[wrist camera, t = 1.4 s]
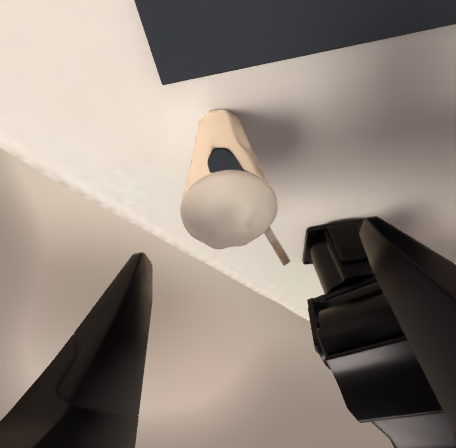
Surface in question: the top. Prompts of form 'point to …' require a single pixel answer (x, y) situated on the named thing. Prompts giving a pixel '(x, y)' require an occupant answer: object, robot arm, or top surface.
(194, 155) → the milkshake
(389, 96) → the top surface
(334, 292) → the robot arm
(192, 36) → the mat
